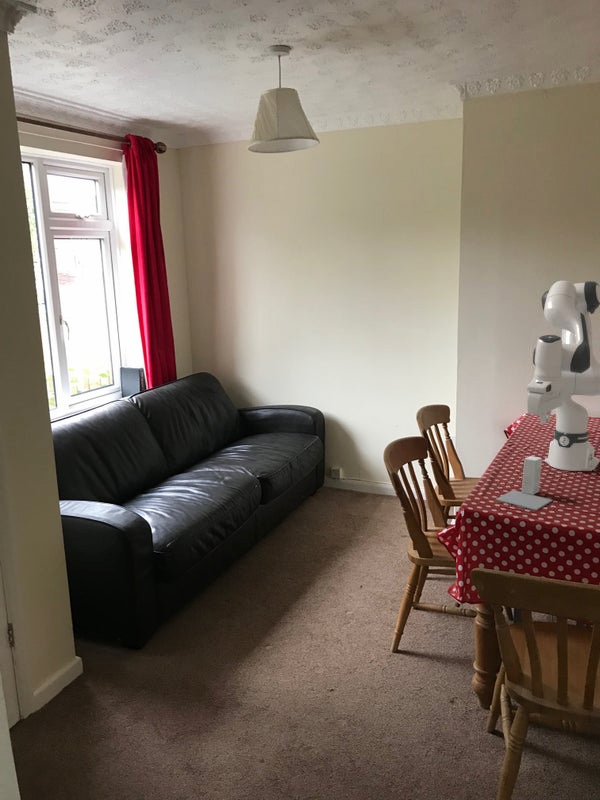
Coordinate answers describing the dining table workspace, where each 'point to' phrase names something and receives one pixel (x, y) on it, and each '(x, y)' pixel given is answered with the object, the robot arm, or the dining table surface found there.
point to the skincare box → (531, 475)
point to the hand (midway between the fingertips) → (544, 423)
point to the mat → (524, 500)
